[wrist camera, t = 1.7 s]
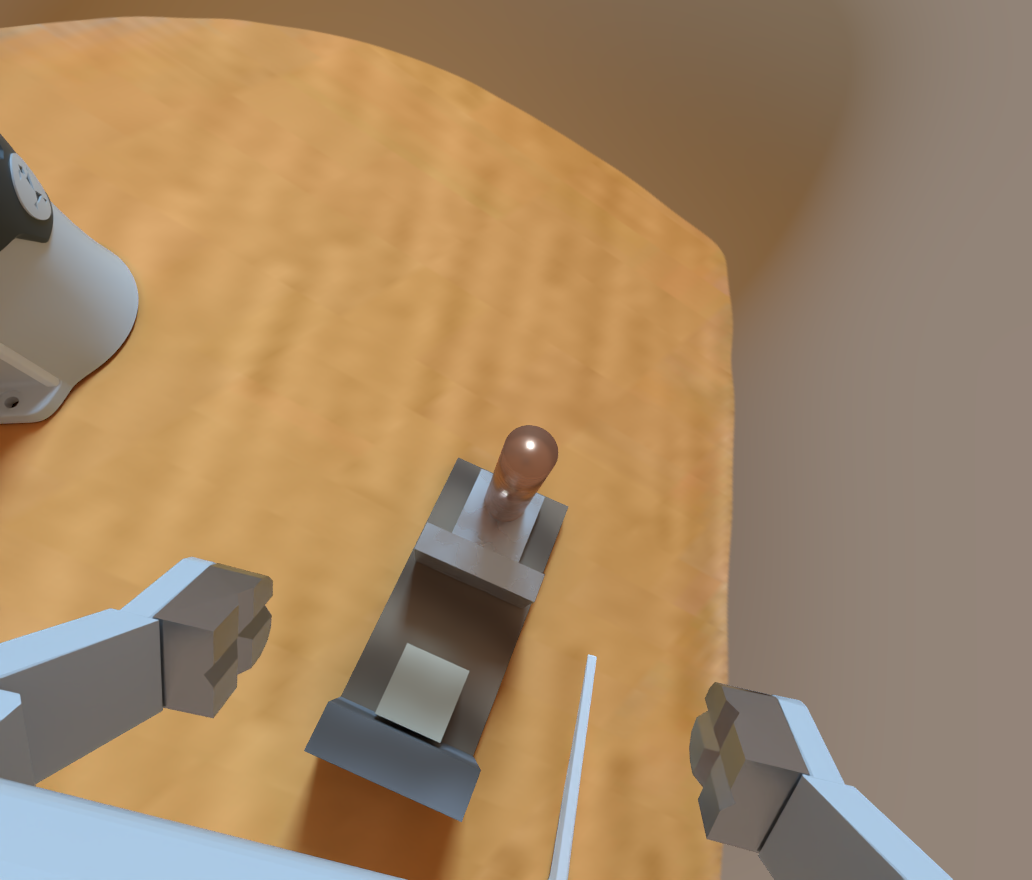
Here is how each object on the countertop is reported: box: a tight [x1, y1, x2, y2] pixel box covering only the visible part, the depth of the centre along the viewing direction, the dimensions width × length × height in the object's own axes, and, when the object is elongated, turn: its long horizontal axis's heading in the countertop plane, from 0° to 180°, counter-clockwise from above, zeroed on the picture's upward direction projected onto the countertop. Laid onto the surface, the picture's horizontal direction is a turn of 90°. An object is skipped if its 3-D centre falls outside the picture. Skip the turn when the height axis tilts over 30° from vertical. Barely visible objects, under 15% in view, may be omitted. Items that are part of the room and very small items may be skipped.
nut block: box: [375, 643, 469, 743], centre depth 34 cm, size 4×4×4 cm
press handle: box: [414, 425, 558, 609], centre depth 34 cm, size 8×8×11 cm
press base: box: [304, 458, 568, 822], centre depth 36 cm, size 20×9×6 cm, turn 158°
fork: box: [548, 655, 597, 880], centre depth 35 cm, size 3×20×2 cm, turn 168°
